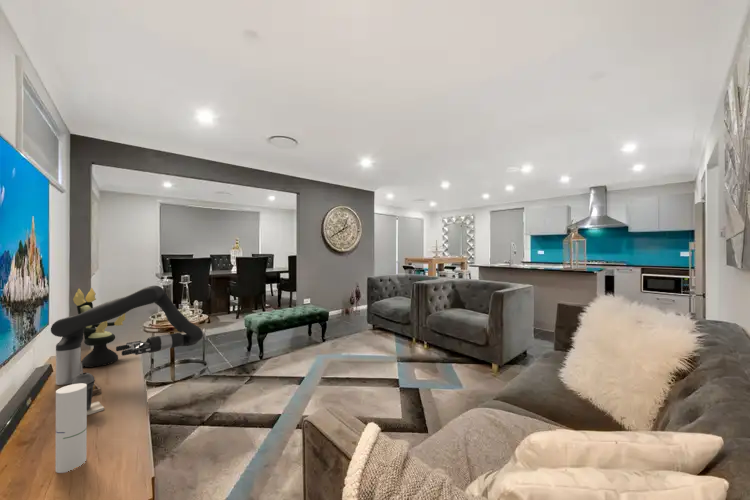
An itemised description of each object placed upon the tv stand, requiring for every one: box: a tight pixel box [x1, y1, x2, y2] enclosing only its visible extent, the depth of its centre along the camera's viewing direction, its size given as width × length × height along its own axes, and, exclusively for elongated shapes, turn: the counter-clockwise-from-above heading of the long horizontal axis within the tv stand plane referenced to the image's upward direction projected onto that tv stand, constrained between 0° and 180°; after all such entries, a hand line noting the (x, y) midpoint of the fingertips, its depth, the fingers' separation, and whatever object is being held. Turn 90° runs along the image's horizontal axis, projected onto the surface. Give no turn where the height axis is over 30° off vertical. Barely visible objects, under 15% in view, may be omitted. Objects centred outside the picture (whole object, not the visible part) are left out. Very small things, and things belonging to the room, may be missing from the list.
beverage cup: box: [71, 363, 96, 411], centre depth 131 cm, size 7×7×20 cm
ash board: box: [87, 400, 105, 416], centre depth 131 cm, size 9×12×1 cm
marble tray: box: [92, 382, 102, 397], centre depth 147 cm, size 9×9×4 cm
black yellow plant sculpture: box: [72, 287, 126, 368], centre depth 184 cm, size 19×22×45 cm
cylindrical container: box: [55, 383, 88, 474], centre depth 100 cm, size 7×7×25 cm
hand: (118, 351), depth 143 cm, fingers open, 8 cm apart
